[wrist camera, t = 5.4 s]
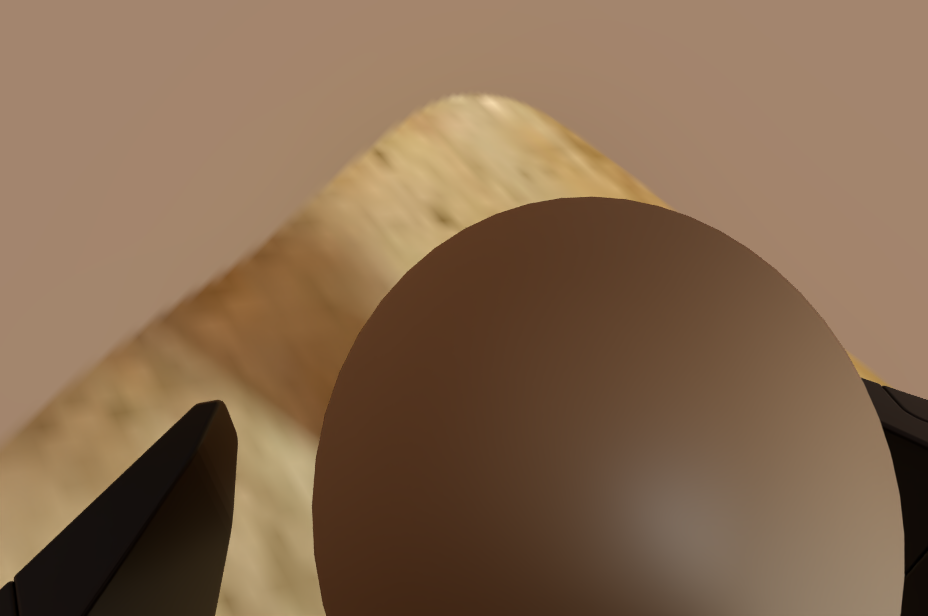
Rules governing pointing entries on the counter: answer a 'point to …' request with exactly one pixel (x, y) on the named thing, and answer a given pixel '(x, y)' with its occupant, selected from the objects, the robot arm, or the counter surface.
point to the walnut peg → (602, 434)
